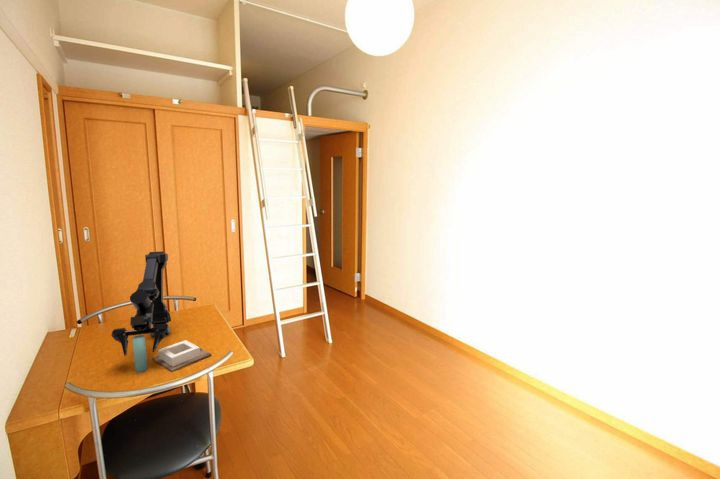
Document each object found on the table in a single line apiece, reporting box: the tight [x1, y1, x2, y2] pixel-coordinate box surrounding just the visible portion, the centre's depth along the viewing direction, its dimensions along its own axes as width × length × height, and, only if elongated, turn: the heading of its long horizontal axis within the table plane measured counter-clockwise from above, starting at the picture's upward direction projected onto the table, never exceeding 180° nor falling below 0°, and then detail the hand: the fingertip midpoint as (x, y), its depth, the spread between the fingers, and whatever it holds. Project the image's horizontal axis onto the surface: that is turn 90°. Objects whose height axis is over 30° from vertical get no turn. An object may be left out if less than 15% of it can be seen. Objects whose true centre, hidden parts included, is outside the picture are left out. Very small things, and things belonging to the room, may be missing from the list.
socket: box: [157, 339, 201, 366], centre depth 142 cm, size 11×11×4 cm
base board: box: [151, 347, 212, 373], centre depth 143 cm, size 16×16×1 cm
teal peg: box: [131, 334, 149, 373], centre depth 133 cm, size 4×4×13 cm
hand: (139, 353), depth 131 cm, fingers open, 9 cm apart
